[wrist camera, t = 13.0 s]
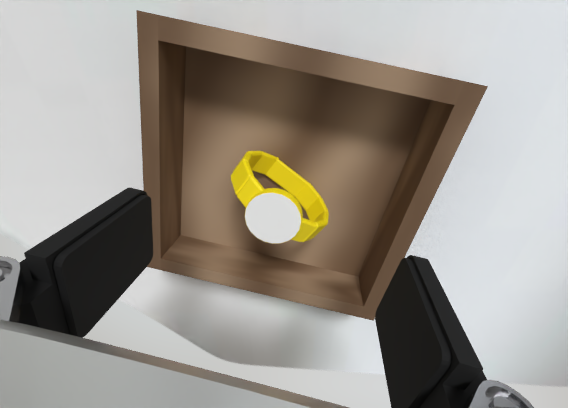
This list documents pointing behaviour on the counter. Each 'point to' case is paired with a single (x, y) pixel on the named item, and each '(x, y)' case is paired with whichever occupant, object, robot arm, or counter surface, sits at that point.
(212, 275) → the box
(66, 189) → the counter surface
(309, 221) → the watch
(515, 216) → the counter surface
